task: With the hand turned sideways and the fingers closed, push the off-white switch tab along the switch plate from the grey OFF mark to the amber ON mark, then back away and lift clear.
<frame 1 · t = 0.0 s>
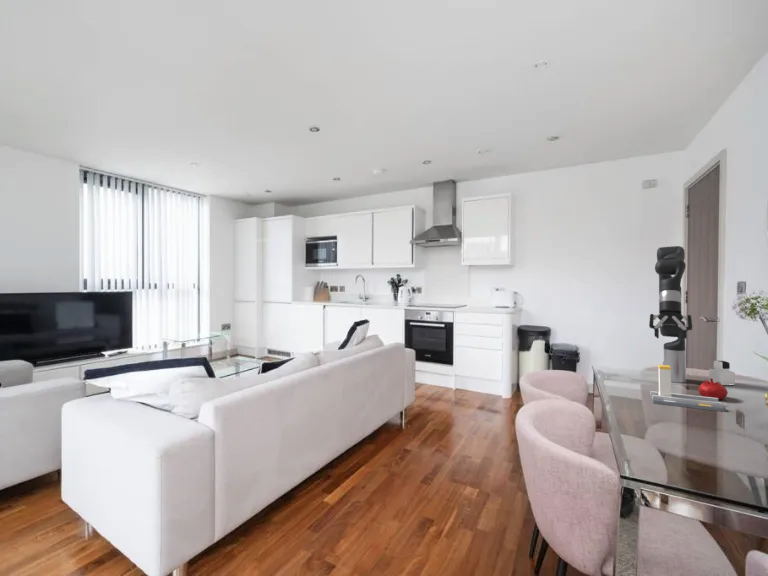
hand: (670, 338, 149), 31 cm above the table, tool tilted 20°, fingers open, 8 cm apart
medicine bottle: (721, 384, 185), on the table
switch plate: (684, 403, 159), on the table
switch tab: (664, 381, 163), point 9 cm above the table, slide at -7.0 cm
red round fruit: (712, 398, 165), on the table
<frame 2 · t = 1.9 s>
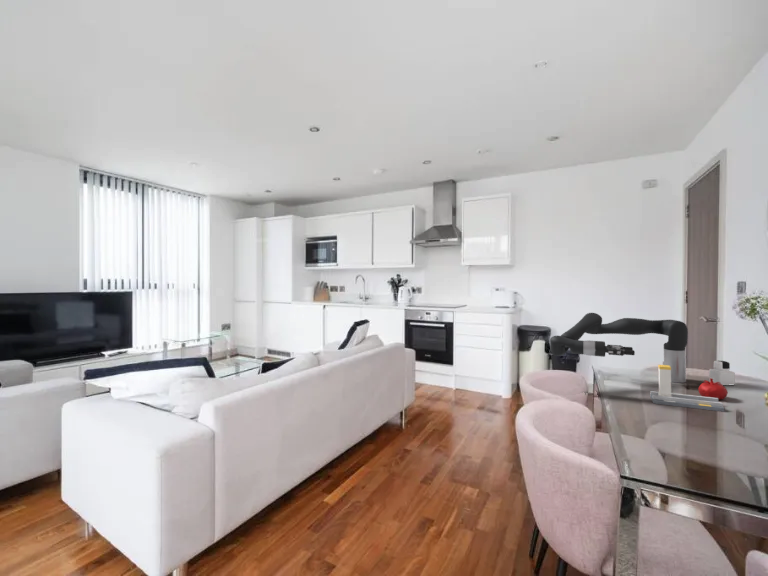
hand: (633, 351, 168), 22 cm above the table, tool horizontal, fingers open, 8 cm apart
nothing on the table moved.
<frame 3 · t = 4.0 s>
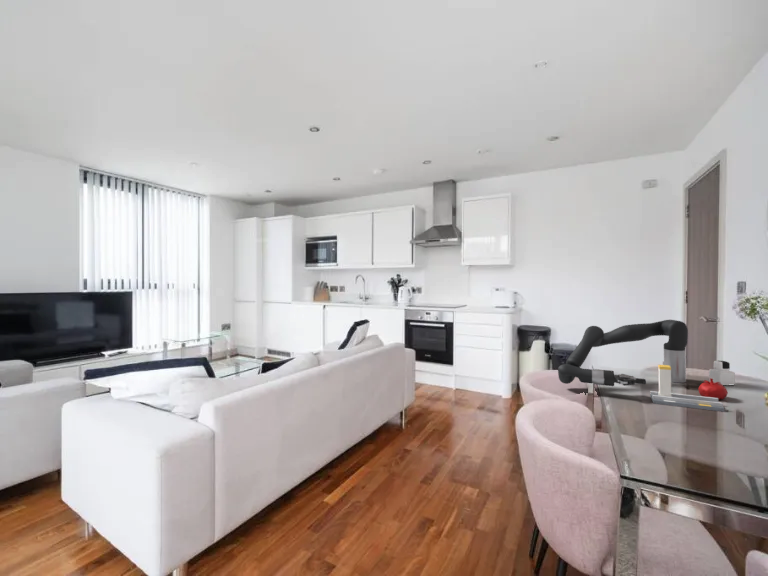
hand: (645, 381, 166), 8 cm above the table, tool horizontal, fingers closed
nothing on the table moved.
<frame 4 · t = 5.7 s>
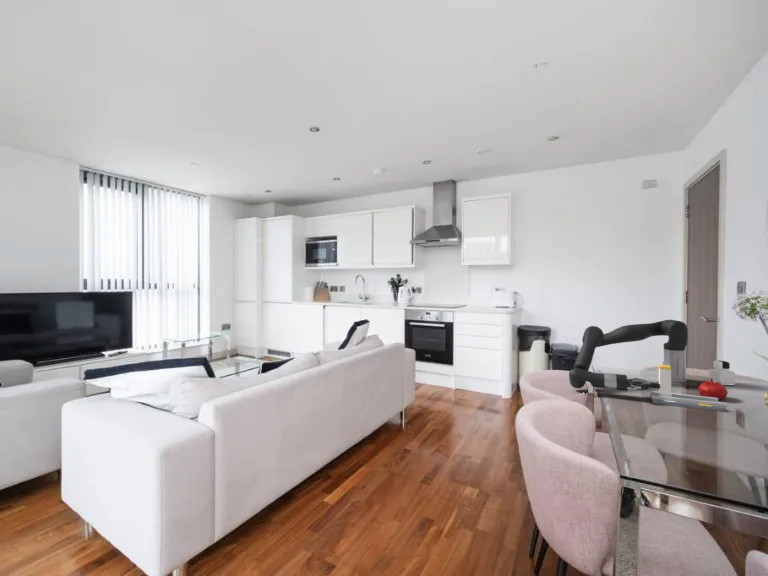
hand: (659, 386, 163), 7 cm above the table, tool horizontal, fingers closed
switch tab: (664, 381, 163), point 9 cm above the table, slide at -6.9 cm, touching gripper
everything else where it was.
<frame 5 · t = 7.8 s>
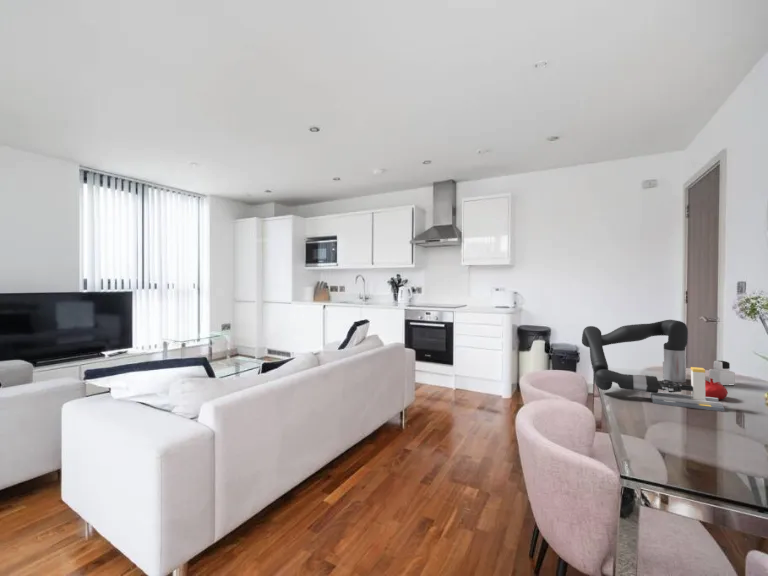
hand: (692, 388, 157), 7 cm above the table, tool horizontal, fingers closed
switch tab: (698, 384, 157), point 9 cm above the table, slide at 4.8 cm, touching gripper
everything else where it was.
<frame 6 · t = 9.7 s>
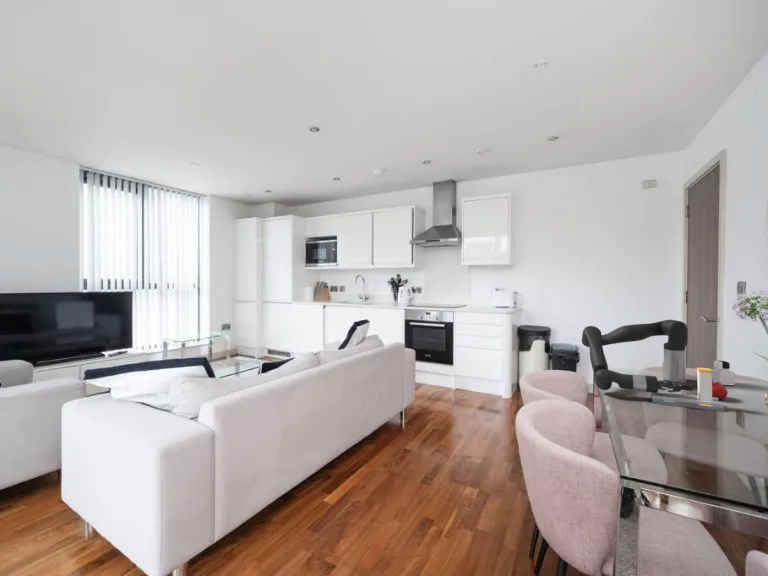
hand: (692, 388, 157), 7 cm above the table, tool horizontal, fingers closed
switch tab: (704, 385, 156), point 9 cm above the table, slide at 6.9 cm
everything else where it was.
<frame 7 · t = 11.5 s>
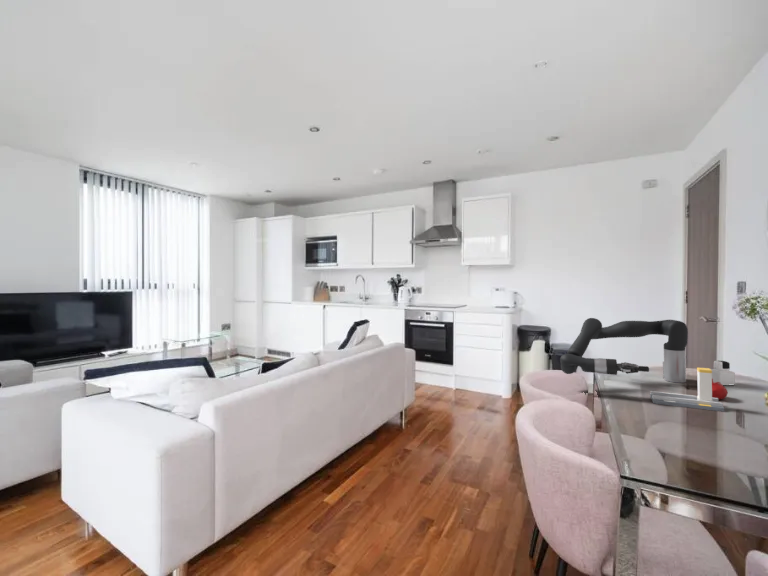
hand: (648, 369, 165), 14 cm above the table, tool horizontal, fingers closed
nothing on the table moved.
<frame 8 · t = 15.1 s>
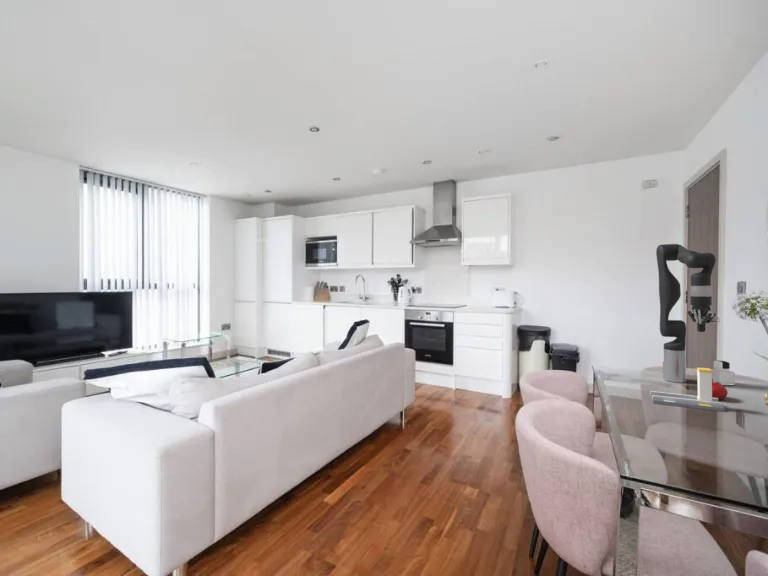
hand: (701, 331, 166), 31 cm above the table, tool pointing down, fingers closed
nothing on the table moved.
at the end: switch tab slide at 6.9 cm; red round fruit moved 0.3 cm from its start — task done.
